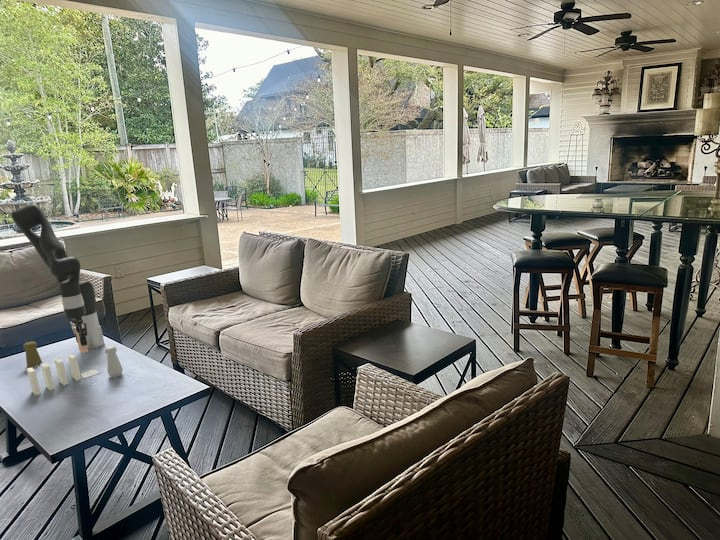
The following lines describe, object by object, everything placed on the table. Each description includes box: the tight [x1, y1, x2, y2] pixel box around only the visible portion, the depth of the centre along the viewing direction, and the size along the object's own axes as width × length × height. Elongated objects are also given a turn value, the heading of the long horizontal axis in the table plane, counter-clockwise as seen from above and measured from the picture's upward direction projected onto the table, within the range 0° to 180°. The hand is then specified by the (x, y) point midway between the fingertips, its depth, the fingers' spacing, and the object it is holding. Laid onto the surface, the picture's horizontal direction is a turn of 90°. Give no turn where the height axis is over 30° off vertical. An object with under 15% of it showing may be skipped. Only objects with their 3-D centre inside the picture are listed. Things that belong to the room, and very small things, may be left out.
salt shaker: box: [104, 345, 124, 379], centre depth 207 cm, size 6×6×13 cm
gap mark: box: [80, 368, 100, 379], centre depth 212 cm, size 6×6×1 cm
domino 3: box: [54, 358, 69, 386], centre depth 204 cm, size 2×5×10 cm, turn 47°
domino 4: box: [67, 354, 82, 382], centre depth 208 cm, size 2×5×10 cm, turn 46°
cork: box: [22, 341, 43, 369], centre depth 225 cm, size 6×6×11 cm
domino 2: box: [40, 362, 56, 391], centre depth 201 cm, size 2×5×10 cm, turn 46°
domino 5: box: [75, 329, 89, 354], centre depth 208 cm, size 2×5×10 cm, turn 46°
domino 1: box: [26, 367, 42, 396], centre depth 197 cm, size 2×5×10 cm, turn 47°
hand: (82, 343), depth 209 cm, fingers closed on domino 5, 5 cm apart
